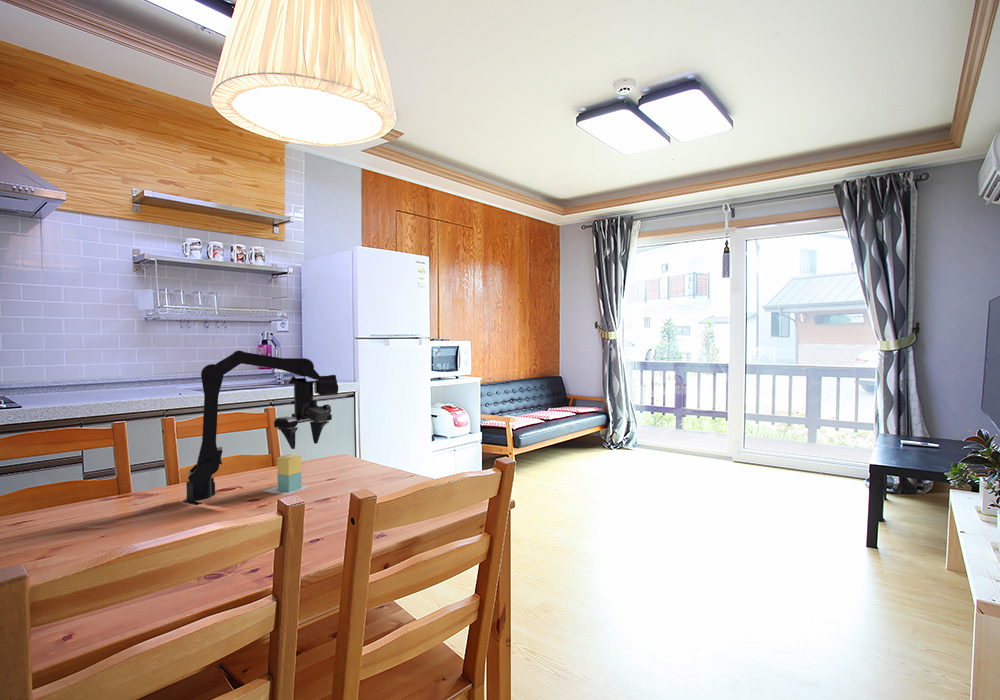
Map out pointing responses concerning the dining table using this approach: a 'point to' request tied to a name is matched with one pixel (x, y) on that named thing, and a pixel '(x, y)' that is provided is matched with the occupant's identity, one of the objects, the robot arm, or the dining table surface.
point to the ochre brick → (289, 464)
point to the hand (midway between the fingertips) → (304, 446)
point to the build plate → (275, 490)
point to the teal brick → (289, 482)
